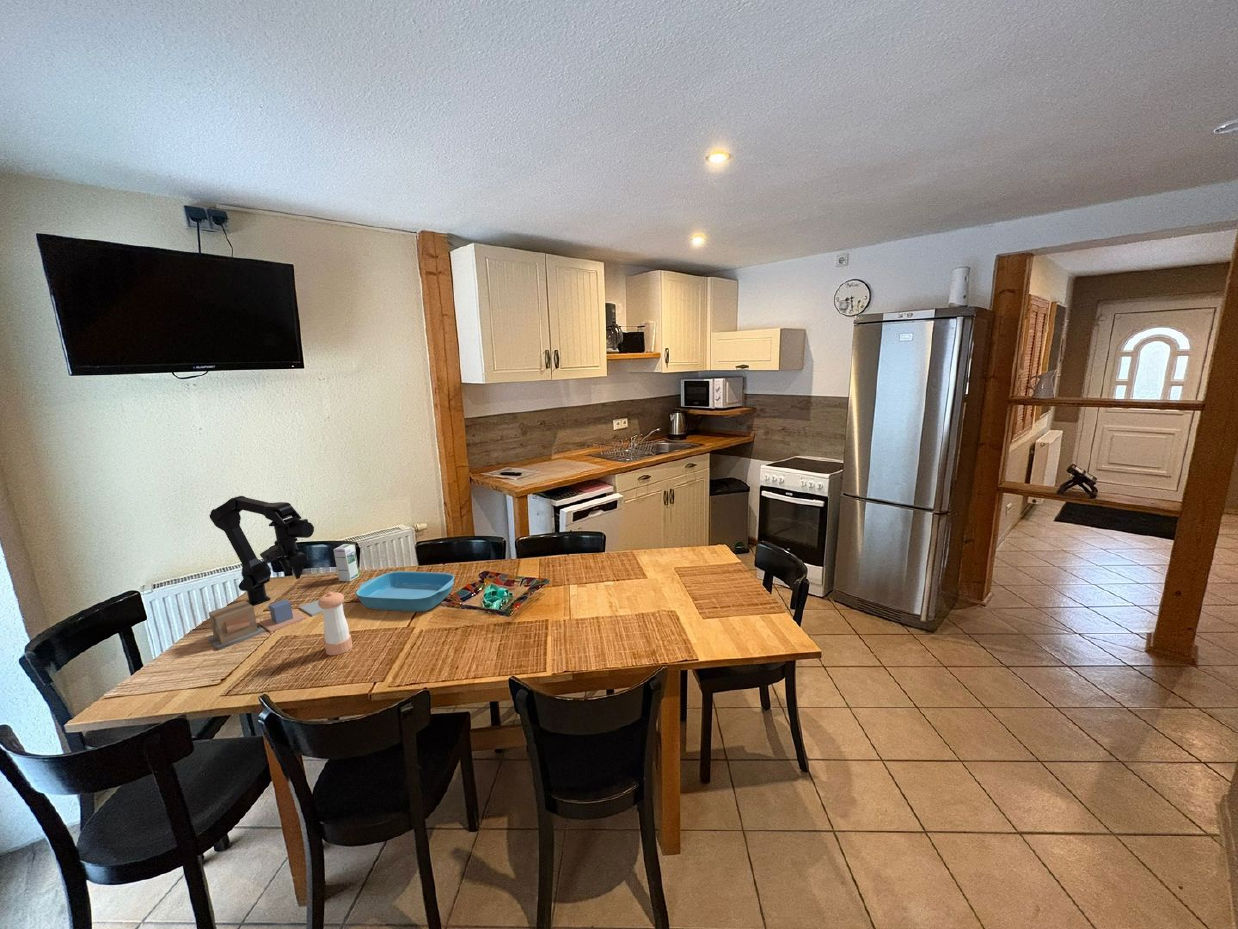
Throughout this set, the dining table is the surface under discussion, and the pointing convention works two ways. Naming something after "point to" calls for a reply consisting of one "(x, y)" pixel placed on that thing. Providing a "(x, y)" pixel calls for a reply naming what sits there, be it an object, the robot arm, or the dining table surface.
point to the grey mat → (312, 608)
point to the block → (281, 611)
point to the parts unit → (233, 624)
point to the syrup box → (346, 562)
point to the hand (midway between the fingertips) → (293, 576)
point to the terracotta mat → (273, 626)
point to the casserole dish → (405, 591)
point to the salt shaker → (335, 624)
